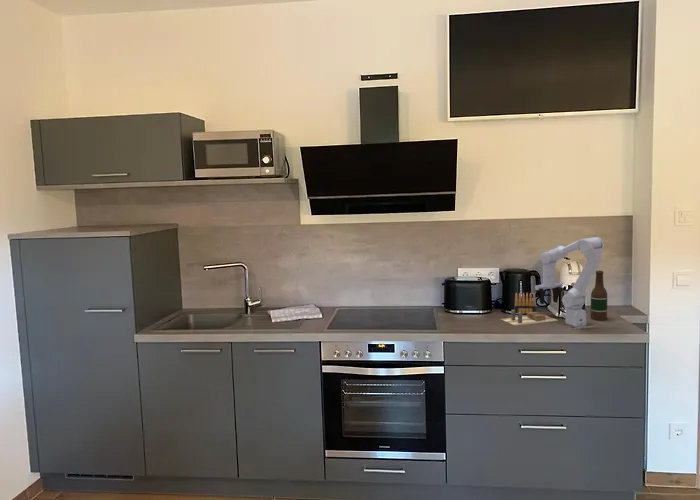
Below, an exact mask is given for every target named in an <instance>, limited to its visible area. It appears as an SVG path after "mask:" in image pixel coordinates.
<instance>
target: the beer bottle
mask: <svg viewBox="0 0 700 500" xmlns="http://www.w3.org/2000/svg"><path fill="white" fill-rule="evenodd" d="M594 282H595V284H594V287H593V289H592V290H591V293H590V319H591V320H593V321H601V322H602V321H606V320H607V318H608V292H607V289H606V288H605V286H604V271H603V270H596V272H595V281H594Z"/></svg>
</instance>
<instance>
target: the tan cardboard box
mask: <svg viewBox="0 0 700 500" xmlns="http://www.w3.org/2000/svg"><path fill="white" fill-rule="evenodd" d="M526 314H527V315H526V316H527V318H529V319H532V320H535V321H543V320H546V316H547V315H546V314H543V313H540V312H538V311H536V312H530V313H526Z"/></svg>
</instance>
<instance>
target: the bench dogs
mask: <svg viewBox="0 0 700 500" xmlns="http://www.w3.org/2000/svg"><path fill="white" fill-rule="evenodd" d="M515 317H516V313H515V308H514V309H511V310H510V318H511V320H515ZM517 317H518V323H522V317H523V313H522V312H518V313H517Z"/></svg>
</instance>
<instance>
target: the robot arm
mask: <svg viewBox="0 0 700 500" xmlns="http://www.w3.org/2000/svg"><path fill="white" fill-rule="evenodd" d="M555 247H556V248H553V249H552V248H551V249H549V250H548V251H544V252H542V253H541V254H540V256H539V257H540V258H539V259H540V262H541V263H542V283H541V284H537V285H534V290H535V292H536V293H535V294H536V295H537V296H538V299H539V303H540V304H541V305H544V304H545V296H546V291H545V290H550V289H551V291H552V300H553V301H552V302H553V303H556V304H557V303H558V301H559V296H560V294H561V293H562V291H563V283H561V282H558V283H556V265H557V262H558V261H559V260H562V259H564V258H567V256H568V254H569V253H572V252H574V251H577V250H578V251H580V252H581V253H582V255H583V256H584V258H585V259H586V262H585V264H584V266H583V267H582V269H581V272H580V274H579V276H578V277H577V279H576V281H575V283H574V285H573V287H572V288H570V289H569V290H568V291H567V292H566V294H564V295H563V296H562V298H561V301H562V305H563V306H564V308H565V322H564V323H565V324H566V325H569V326H572V327H570V328H571V329H573V330H574V329H575V330H576V329H582V328H583V329H584V328H589V326H588V325H587V311H585V310H583V305H584V304H585V303H586V297H587V292H586V290H587V288H588V287H589V286H590V285H589V284H590V283H591V281H592V279H593V278H594V275H596V271H598V269H599V266H600V265H601V262H602V256H603V250H604V248H605V245H604V241H603V240H602V238H601V237H600V236H594V237H588V238H581V239H578V240H576V241H574V242H572V243H569V244H568V245H565V246H564V245H556V246H555Z"/></svg>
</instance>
